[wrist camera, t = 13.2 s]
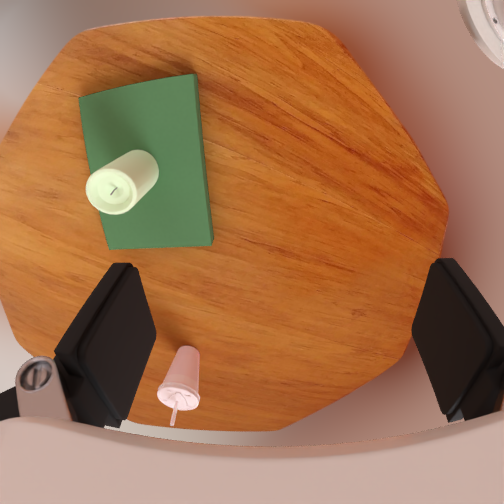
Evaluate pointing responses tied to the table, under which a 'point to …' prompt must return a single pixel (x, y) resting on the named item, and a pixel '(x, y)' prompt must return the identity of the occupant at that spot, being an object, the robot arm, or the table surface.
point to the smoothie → (181, 382)
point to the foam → (164, 152)
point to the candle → (122, 182)
